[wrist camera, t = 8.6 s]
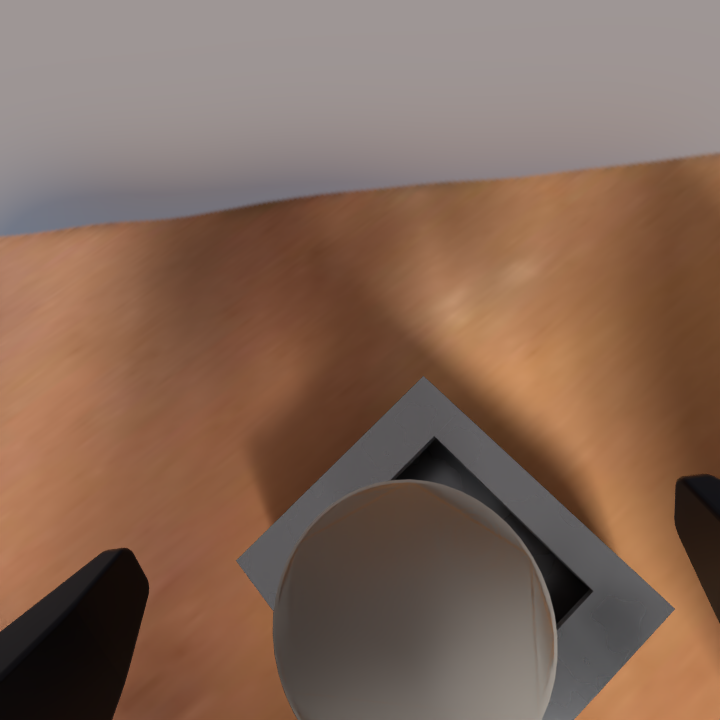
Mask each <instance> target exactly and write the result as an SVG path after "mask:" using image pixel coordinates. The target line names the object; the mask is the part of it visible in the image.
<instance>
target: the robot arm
mask: <svg viewBox="0 0 720 720" xmlns="http://www.w3.org/2000/svg"><path fill="white" fill-rule="evenodd" d="M674 519H675V526H676V530H677V533H678V535H679V537H680V540H681V542H682V544H683V546H684V548H685V550H686V552H687V555H688V557H689V559H690V561H691V563H692V565H693V567H694V570H695V572H696V574H697V576H698V578H699V580H700V582H701V585H702V587H703V589H704V591H705V593H706V595H707V597H708V600H709V602H710V604H711V606H712V608H713V610H714V612H715V615H716V617H717V619H718V621H719V623H720V479H718V478H716V477H714V476H712V475H709V474H698V475H690V476H683V477H680V478H679V479H678V480H677V482H676V489H675V516H674ZM148 594H149V583H148V580H147V577H146V576H145V574H144V572H143V570H142V568H141V566H140V565H139V563H138V561H137V559H136V557H135V555H134V554H133V552H132V551H131V550H129V549H128V548H118V549H111V550H106V551H104V552H102V553H101V554H99V555H98V556H97V557H95V558H94V559H93V560H92V561H90V562H89V563H88V564H87V565H85V566H84V567H83V568H81V569H80V570H79V571H78V572H76V573H75V574H74V575H72V576H71V577H70V578H69V579H67V580H66V581H65V582H63V583H62V584H61V585H60V586H58V587H57V588H56V589H55V590H53V591H52V592H51V593H49V594H48V595H47V596H46V597H44V598H43V599H42V600H40V601H39V602H38V603H37V604H35V605H34V606H33V607H31V608H30V609H29V610H28V611H26V612H25V613H24V614H23V615H21V616H20V617H19V618H17V619H16V620H15V621H14V622H12V623H11V624H10V625H8V626H7V627H6V628H5V629H3V630H2V631H1V632H0V720H112V719H113V716H114V713H115V710H116V708H117V705H118V702H119V699H120V696H121V693H122V690H123V687H124V684H125V681H126V678H127V674H128V671H129V667H130V663H131V660H132V656H133V652H134V648H135V644H136V640H137V637H138V633H139V629H140V625H141V621H142V618H143V614H144V610H145V606H146V602H147V599H148Z"/></svg>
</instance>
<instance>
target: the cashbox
mask: <svg viewBox="0 0 720 720" xmlns="http://www.w3.org/2000/svg"><path fill="white" fill-rule="evenodd" d="M407 479H411V480H422V481H429V482H434V483H438V484H442V485H446V486H448V487H451V488H454V489H457V490H459V491H462V492H463V493H465V494H467V495H469V496H471V497H473V498H475V499H477V500H478V501H480V502H481V503H483V504H484V505H486V506H487V507H488V508H490V509H491V510H493V511H494V512H495V513H496V514H497V515H498V516H500V517H501V518H502V519H503V520H504V521H505V522H506V523H507V524H508V525H509V526H510V527H511V528H512V529H513V531H514V532H515V533H516V534H517V535H518V536H519V537H520V539H521V540H522V541H523V543H524V544H525V546H526V547H527V549H528V550H529V552H530V553H531V555H532V556H533V558H534V560H535V562H536V564H537V566H538V568H539V570H540V571H541V573H542V576H543V578H544V581H545V584H546V586H547V589H548V591H549V594H550V598H551V602H552V606H553V610H554V614H555V621H556V629H557V666H556V675H555V681H554V685H553V689H552V693H551V697H550V701H549V703H548V706H547V708H546V711H545V713H544V716H543V718H542V720H574V719H575V718H576V717H577V716H578V715H579V713H580V712H581V711H582V710H583V709H584V708H585V707H586V706H587V705H588V704H589V703H590V701H591V700H592V699H593V698H594V697H595V696H596V695H597V694H598V693H599V692H600V691H601V689H602V688H603V687H604V686H605V685H606V684H607V683H608V682H609V681H610V680H611V679H612V677H613V676H614V675H615V674H616V673H617V672H618V671H619V670H620V669H621V668H622V666H623V665H624V664H625V663H626V662H627V661H628V660H629V659H630V658H631V657H632V656H633V654H634V653H635V652H636V651H637V650H638V649H639V648H640V647H641V646H642V645H643V644H644V642H645V641H646V640H647V639H648V638H649V637H650V636H651V635H652V634H653V633H654V631H655V630H656V629H657V628H658V627H659V626H660V625H661V624H662V623H663V622H664V621H665V619H666V618H667V617H668V616H669V615H670V614H671V613H672V612H673V611H674V610H675V608H673V607H672V606H671V605H670V604H669V603H668V602H667V601H666V600H665V599H664V598H663V597H662V596H660V595H659V594H658V593H657V592H656V591H655V590H654V589H653V588H652V587H651V586H650V585H649V584H648V583H646V582H645V581H644V580H643V579H642V578H641V577H640V576H639V575H638V574H637V573H636V572H635V571H633V570H632V569H631V568H630V567H629V566H628V565H627V564H626V563H625V562H624V561H623V560H622V559H621V558H619V557H618V556H617V555H616V554H615V553H614V552H613V551H612V550H611V549H610V548H609V547H608V546H606V545H605V544H604V543H603V542H602V541H601V540H600V539H599V538H598V537H597V536H596V535H595V534H594V533H592V532H591V531H590V530H589V529H588V528H587V527H586V526H585V525H584V524H583V523H582V522H581V521H579V520H578V519H577V518H576V517H575V516H574V515H573V514H572V513H571V512H570V511H569V510H568V509H567V508H565V507H564V506H563V505H562V504H561V503H560V502H559V501H558V500H557V499H556V498H555V497H554V496H552V495H551V494H550V493H549V492H548V491H547V490H546V489H545V488H544V487H543V486H542V485H541V484H540V483H538V482H537V481H536V480H535V479H534V478H533V477H532V476H531V475H530V474H529V473H528V472H527V471H525V470H524V469H523V468H522V467H521V466H520V465H519V464H518V463H517V462H516V461H515V460H514V459H513V458H511V457H510V456H509V455H508V454H507V453H506V452H505V451H504V450H503V449H502V448H501V447H500V446H499V445H497V444H496V443H495V442H494V441H493V440H492V439H491V438H490V437H489V436H488V435H487V434H486V433H484V432H483V431H482V430H481V429H480V428H479V427H478V426H477V425H476V424H475V423H474V422H473V421H472V420H470V419H469V418H468V417H467V416H466V415H465V414H464V413H463V412H462V411H461V410H460V409H459V408H457V407H456V406H455V405H454V404H453V403H452V402H451V401H450V400H449V399H448V398H447V397H446V396H445V395H443V394H442V393H441V392H440V391H439V390H438V389H437V388H436V387H435V386H434V385H433V384H432V383H430V382H429V381H428V380H427V379H426V378H425V377H424V376H423V377H422V378H421V379H420V380H419V381H418V382H417V383H416V384H415V385H414V386H413V387H412V388H411V389H410V390H409V391H408V392H407V393H406V394H405V395H404V396H403V397H402V398H401V399H400V400H399V401H398V402H397V403H396V404H395V405H394V406H393V407H392V408H391V409H390V410H389V411H388V412H387V413H386V414H385V415H384V416H383V417H382V418H380V419H379V420H378V421H377V422H376V423H375V424H374V425H373V426H372V427H371V428H370V429H369V430H368V431H367V432H366V433H365V434H364V435H363V436H362V437H361V438H360V439H359V440H358V441H357V442H356V443H355V444H354V445H353V446H352V447H351V448H350V449H349V450H348V451H347V452H346V453H345V454H344V455H343V456H342V457H341V458H340V459H339V460H338V461H337V462H336V463H335V464H334V465H333V466H332V467H331V468H330V469H329V470H328V471H327V472H326V473H325V474H324V475H323V476H322V477H321V478H320V479H319V480H318V481H317V482H316V483H314V484H313V485H312V486H311V487H310V488H309V489H308V490H307V491H306V492H305V493H304V494H303V495H302V496H301V497H300V498H299V499H298V500H297V501H296V502H295V503H294V504H293V505H292V506H291V507H290V508H289V509H288V510H287V511H286V512H285V513H284V514H283V515H282V516H281V517H280V518H279V519H278V520H277V521H276V522H275V523H274V524H273V525H272V526H271V527H270V528H269V529H268V530H267V531H266V532H265V533H264V534H263V535H262V536H261V537H260V538H259V539H258V540H257V541H256V542H255V543H254V544H253V545H252V546H251V547H250V548H248V549H247V550H246V551H245V552H244V553H243V554H242V555H241V556H240V557H239V558H238V559H237V560H236V561H237V563H238V564H239V565H240V567H241V568H242V569H243V571H244V572H245V573H246V575H247V576H248V577H249V579H250V580H251V582H252V583H253V584H254V586H255V587H256V588H257V590H258V591H259V592H260V594H261V595H262V596H263V598H264V599H265V601H266V602H267V603H268V605H269V606H270V607H271V609H272V610H273V611H274V605H275V598H276V593H277V589H278V585H279V581H280V577H281V574H282V572H283V569H284V567H285V564H286V562H287V559H288V557H289V555H290V553H291V552H292V550H293V548H294V546H295V544H296V542H297V541H298V540H299V538H300V537H301V535H302V534H303V532H304V531H305V530H306V528H307V527H308V526H309V525H310V524H311V523H312V522H313V521H314V519H315V518H316V517H317V516H318V515H319V514H320V513H322V512H323V511H324V510H325V509H326V508H327V507H329V506H330V505H331V504H333V503H334V502H336V501H337V500H339V499H340V498H342V497H343V496H345V495H347V494H349V493H351V492H353V491H355V490H357V489H359V488H362V487H365V486H368V485H372V484H375V483H379V482H385V481H390V480H407Z"/></svg>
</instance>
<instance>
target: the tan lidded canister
mask: <svg viewBox="0 0 720 720" xmlns="http://www.w3.org/2000/svg"><path fill="white" fill-rule="evenodd" d="M273 642H274V653H275V659H276V664H277V669H278V673H279V677H280V680H281V683H282V686H283V689H284V692H285V695H286V697H287V699H288V701H289V704H290V706H291V708H292V710H293V712H294V714H295V716H296V717H297V719H298V720H542V718H543V716H544V713H545V711H546V708H547V706H548V703H549V701H550V697H551V693H552V689H553V685H554V681H555V675H556V666H557V629H556V621H555V614H554V610H553V606H552V602H551V598H550V594H549V591H548V589H547V586H546V584H545V581H544V578H543V576H542V573H541V571H540V570H539V568H538V566H537V564H536V562H535V560H534V558H533V556H532V555H531V553H530V552H529V550H528V549H527V547H526V546H525V544H524V543H523V541H522V540H521V539H520V537H519V536H518V535H517V534H516V533H515V532H514V531H513V529H512V528H511V527H510V526H509V525H508V524H507V523H506V522H505V521H504V520H503V519H502V518H501V517H500V516H498V515H497V514H496V513H495V512H494V511H493V510H491V509H490V508H488V507H487V506H486V505H484V504H483V503H481V502H480V501H478V500H477V499H475V498H473V497H471V496H469V495H467V494H465V493H463V492H462V491H459V490H457V489H454V488H451V487H448V486H446V485H442V484H438V483H434V482H429V481H422V480H411V479H407V480H390V481H385V482H379V483H375V484H372V485H368V486H365V487H362V488H359V489H357V490H355V491H353V492H351V493H349V494H347V495H345V496H343V497H342V498H340V499H339V500H337V501H336V502H334V503H333V504H331V505H330V506H329V507H327V508H326V509H325V510H324V511H323V512H322V513H320V514H319V515H318V516H317V517H316V518H315V519H314V521H313V522H312V523H311V524H310V525H309V526H308V527H307V528H306V530H305V531H304V532H303V534H302V535H301V537H300V538H299V540H298V541H297V542H296V544H295V546H294V548H293V550H292V552H291V553H290V555H289V557H288V559H287V562H286V564H285V567H284V569H283V572H282V574H281V577H280V581H279V585H278V589H277V593H276V598H275V605H274V612H273Z"/></svg>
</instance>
